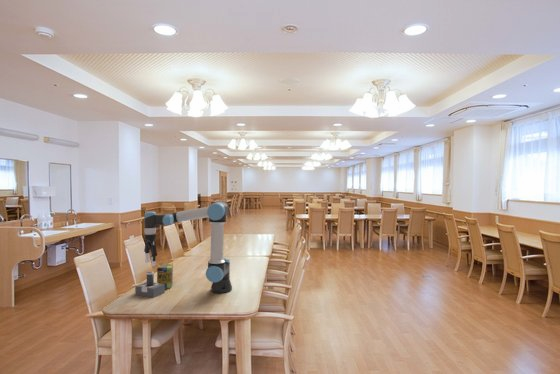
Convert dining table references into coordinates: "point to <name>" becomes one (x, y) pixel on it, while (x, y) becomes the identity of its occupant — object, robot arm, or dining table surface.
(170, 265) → the protein box
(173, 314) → the dining table surface
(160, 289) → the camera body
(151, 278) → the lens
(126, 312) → the dining table surface
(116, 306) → the dining table surface
